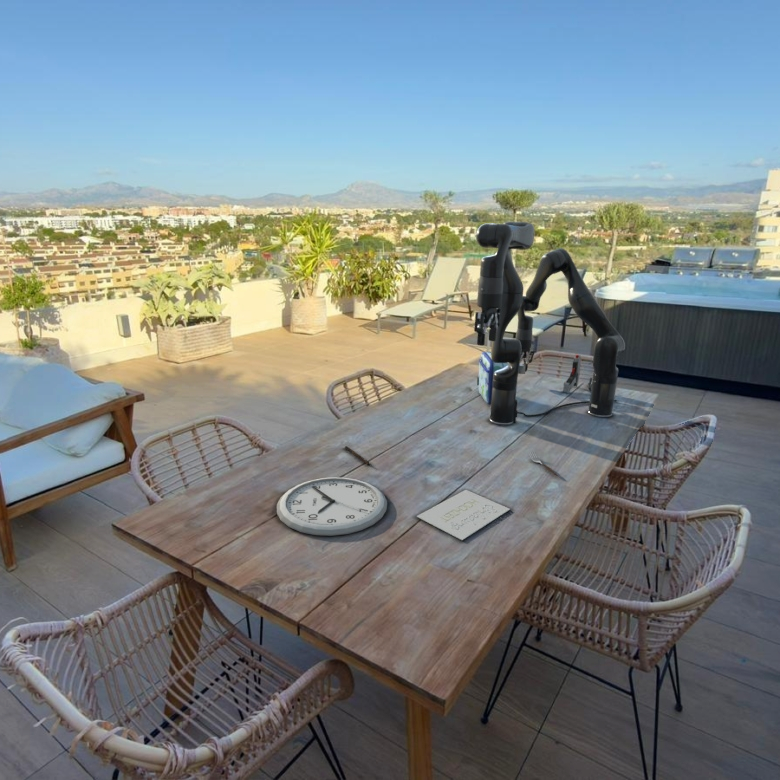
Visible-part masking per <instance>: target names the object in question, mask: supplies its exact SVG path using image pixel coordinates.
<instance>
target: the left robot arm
mask: <svg viewBox="0 0 780 780" xmlns="http://www.w3.org/2000/svg"><path fill="white" fill-rule="evenodd" d="M535 231H536V230H535V227H534V225H533V224H532V223H531V222H525V221H506V222H504V223H483V224H481V225H480V226H479V227H478V229H477V230H476V232H475V233H476V234H475V240H476V242H477V244H478V246H479V247H480V248H483V249H497V251H496V252H495V254H493V255H487V256H483V257H482V258H481V260H480V269H479V279H478V285H477V286H478V287H477V299H476V300H477V301H476V302H477V303H476V306H477V307H478V308H481V310H480V312H479V311H478V312H477V311H476V312H475V316H474V317H475V318H474V329H473V331H474V332H475V333H477V338H476V339H477V341H476V344H477V346H485V343H486V332H487V329H488V328H489V329H488V341H489V342H491V348H490V352H491V358H492V361H493V362H494V363H508V365H507V366H506V367H504V368H502V369H499V370H497V371H495V372H494V374H493V385H492V398H491V404H490V410H489V422H490V423H491V424H494V425H497V426H511V425H513V424H516V423H517V418H518V415H521V416H523V417H528V418H530V417H531V418H532V417H540V416H544V415H547V414H548V413H550V412H552V411H554V410H558V409H560V408H563V407H567V406H572V405H580V404H589V402H590V400H587V401H586V400H585V401H577V402H575V401H574V402H570V403H569V402H568V403H565V404H561V405H558V406H555V407H553V408H551V409H548V410H547V411H545V412H541V413H536V414H526V413H524V412H522V411H518V399H517V388H518V378H519V374H518V373H519V365H520V364H521V361H520V359H521V350H522V347H521V342H520V341H519V340H518V339H516V338H504V335H505V333H506V329H507V328H508V326H509V324H510V323H511V321H512V320H513V319H514V318H515V316H516V315H518V314H517V312H518V311H519V309H520V308H521V305H522V299H523V296H524V284H523V282H522V279H521V277H520V275H519V273H518V272H517V270H516V267H515V265H514V262H513V258H512V250H521V251H522V250H523V251H525V250H528V249H530V248H531V247H532V246H533V244H534V242H535V236H536V232H535ZM615 402H618V399H614V403H615Z"/></svg>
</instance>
